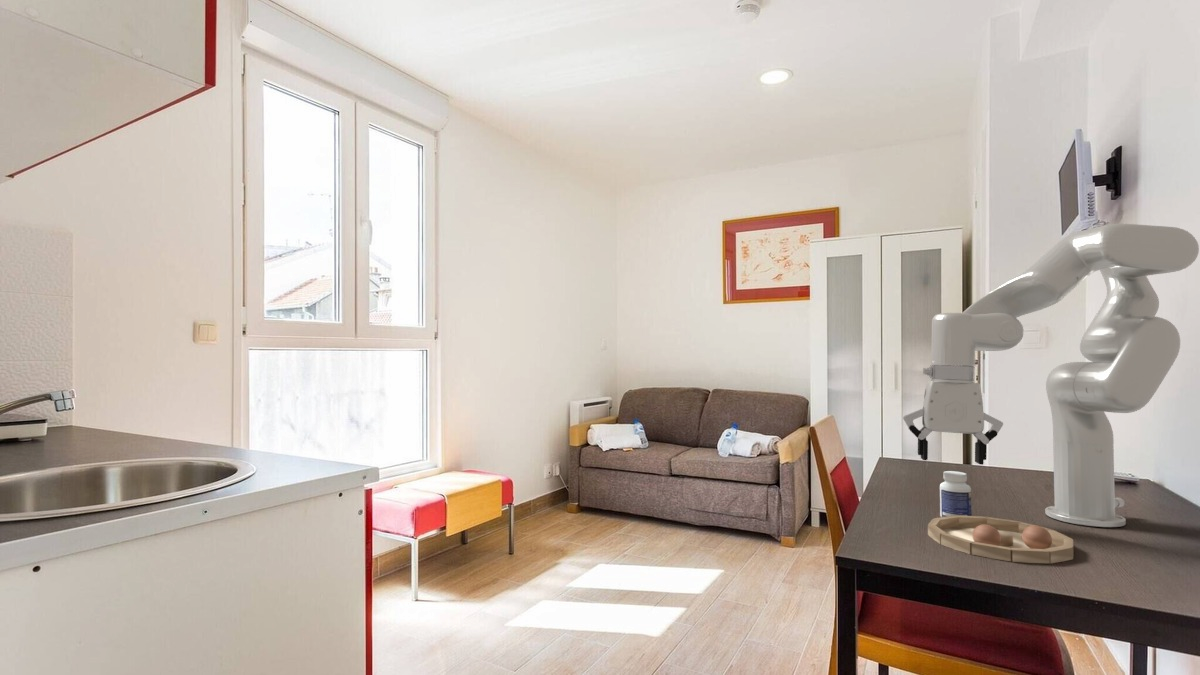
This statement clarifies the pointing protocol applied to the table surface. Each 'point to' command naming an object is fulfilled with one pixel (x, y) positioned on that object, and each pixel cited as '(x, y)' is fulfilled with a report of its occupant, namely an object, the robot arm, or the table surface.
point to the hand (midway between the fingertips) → (951, 461)
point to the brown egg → (986, 535)
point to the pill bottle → (955, 495)
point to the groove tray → (1012, 546)
